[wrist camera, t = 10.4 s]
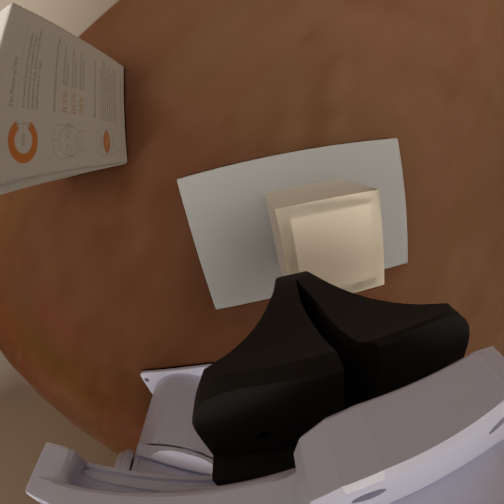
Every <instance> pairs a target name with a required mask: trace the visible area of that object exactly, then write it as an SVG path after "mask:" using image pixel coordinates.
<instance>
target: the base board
mask: <svg viewBox="0 0 504 504" xmlns="http://www.w3.org/2000/svg"><path fill="white" fill-rule="evenodd" d="M333 179H342V180H346V181H350V182H354V183H357V184H361V185H365V186H369V187H372V188H376V189H379V195H380V205H381V216H382V229H383V247H384V269H387V268H390V267H394V266H397V265H401V264H404V263H407V262H408V243H407V217H406V202H405V191H404V181H403V173H402V165H401V158H400V152H399V145H398V140H397V138H394V139H382V140H372V141H363V142H354V143H346V144H339V145H332V146H325V147H319V148H313V149H307V150H301V151H295V152H290V153H284V154H279V155H274V156H269V157H264V158H260V159H255V160H250V161H246V162H242V163H237V164H233V165H229V166H225V167H221V168H217V169H213V170H209V171H205V172H202V173H198V174H194V175H191V176H187V177H184V178H180V179H177V182H178V186H179V190H180V193H181V197H182V201H183V204H184V208H185V212H186V215H187V219H188V222H189V226H190V229H191V232H192V236H193V239H194V243H195V246H196V249H197V253H198V256H199V259H200V262H201V265H202V269H203V272H204V275H205V278H206V281H207V284H208V287H209V290H210V293H211V297H212V300H213V303H214V305H215V308H216V309H221V308H227V307H231V306H236V305H241V304H246V303H251V302H255V301H260V300H265V299H269V298H271V296H272V294H273V290H274V286H275V280H276V278H277V277H282V276H283V275H282V272H281V269H280V266H279V262H278V257H277V252H276V247H275V242H274V237H273V232H272V228H271V223H270V218H269V213H268V209H267V204H266V199H265V195H264V193H266V192H271V191H276V190H280V189H285V188H290V187H295V186H301V185H306V184H311V183H316V182H322V181H328V180H333Z"/></svg>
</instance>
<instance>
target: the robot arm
mask: <svg viewBox="0 0 504 504" xmlns="http://www.w3.org/2000/svg"><path fill="white" fill-rule="evenodd" d="M469 334H470V332H469V325H468V323H467V321H466V319H465V318H464V317H462V316H461V315H460V314H459V313H458V312H457V311H456V310H455V309H453V308H452V307H451V306H450V305H449V304H447V303H445V304H423V305H418V304H401V303H392V302H386V301H380V300H375V299H371V298H367V297H364V296H360V295H357V294H354V293H351V292H349V291H346V290H344V289H341V288H339V287H337V286H334V285H332V284H330V283H328V282H326V281H324V280H323V279H321V278H319V277H317V276H315V275H313V274H312V273H310V272H308V271H304V272H300V273H295V274H291V275H286V276H282V277H277V278H276V280H275V286H274V290H273V294H272V296H271V299H270V302H269V304H268V306H267V308H266V310H265V312H264V314H263V316H262V318H261V319H260V321H259V322H258V324H257V325H256V327H255V328H254V329H253V331H252V332H251V333H250V334H249V335H248V336H247V337H246V338H245V340H244V341H242V342H241V343H240V344H239V345H238V346H237V347H236V348H234V349H233V350H232V351H231V352H230V353H228V354H227V355H226V356H224V357H223V358H221V359H219V360H218V361H216V362H215V363H213V364H204V365H197V366H189V367H180V368H171V369H160V370H148V371H142V372H141V374H140V376H141V378H142V379H143V381H144V382H145V384H146V385H147V387H148V388H149V390H150V391H151V393H152V394H153V396H152V399H151V402H150V406H149V409H148V412H147V416H146V419H145V422H144V426H143V429H142V433H141V437H140V440H139V443H138V445H137V448H136V451H135V454H134V455H133V452H134V451H132V450H129V449H126V451H123V452H120V453H119V455H118V458H117V461H116V464H115V467H114V468H112V467H107V466H102V465H97V464H92V463H88V462H86V461H85V460H84V459H83V458H82V457H81V456H80V455H79V454H78V453H76V452H75V451H73V450H72V449H69V448H67V447H64V446H61V445H57V444H54V443H51V442H47V443H46V445H45V447H44V449H43V451H42V453H41V455H40V458H39V460H38V462H37V464H36V466H35V469H34V471H33V473H32V476H31V478H30V480H29V483H28V485H27V488H26V490H25V491H26V493H27V494H28V495H29V496H31V497H32V498H34V499H35V500H37V501H38V502H40V503H41V504H504V357H503V356H502V355H501V354H500V353H499V352H498V351H497V350H496V349H495V348H494V347H493V346H491V347H487V348H484V349H481V350H478V351H475V352H472V353H470V354H469V355H467V356H465V357H464V355H465V352H466V348H467V345H468V340H469Z"/></svg>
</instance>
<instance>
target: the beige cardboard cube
mask: <svg viewBox="0 0 504 504" xmlns="http://www.w3.org/2000/svg"><path fill="white" fill-rule="evenodd" d="M264 195H265V199H266V204H267V209H268V213H269V218H270V223H271V228H272V232H273V237H274V242H275V247H276V252H277V257H278V262H279V266H280V269H281V272H282V275H283V276H286V275H291V274H295V273H300V272H304V271H308V272H310V273H312V274H313V275H315V276H317V277H319V278H321V279H323V280H324V281H326V282H328V283H330V284H332V285H334V286H337V287H339V288H341V289H344V290H346V291H349V292H351V293H356V292H360V291H363V290H367V289H370V288H374V287H377V286H381V285H384V247H383V229H382V216H381V205H380V195H379V189H376V188H372V187H369V186H365V185H361V184H357V183H354V182H350V181H346V180H342V179H333V180H328V181H322V182H316V183H311V184H306V185H301V186H295V187H290V188H285V189H280V190H276V191H271V192H266V193H264Z"/></svg>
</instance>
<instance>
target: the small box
mask: <svg viewBox="0 0 504 504" xmlns="http://www.w3.org/2000/svg"><path fill="white" fill-rule="evenodd" d="M126 163H127V152H126V137H125V120H124V66H122V65H120V64H119V63H118V62H116V61H115V60H113V59H112V58H110V57H108V56H107V55H105V54H104V53H102V52H101V51H99V50H98V49H96V48H94V47H93V46H91V45H90V44H88V43H86V42H85V41H83V40H81V39H80V38H78V37H76V36H75V35H73V34H71V33H70V32H68V31H66V30H64V29H63V28H61V27H59V26H57V25H56V24H54V23H52V22H50V21H48V20H47V19H44V18H43V17H41V16H39V15H37V14H35V13H33V12H31V11H29V10H27V9H25V8H23V7H21V6H19V5H17V4H15V3H11V4H10V5H8V6H7V7H6V8H4V9H3V10H2V11H1V12H0V195H1V194H4V193H8V192H11V191H15V190H19V189H22V188H26V187H30V186H34V185H38V184H42V183H45V182H50V181H54V180H58V179H63V178H67V177H71V176H75V175H79V174H83V173H87V172H91V171H95V170H100V169H104V168H109V167H114V166H119V165H123V164H126Z"/></svg>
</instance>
